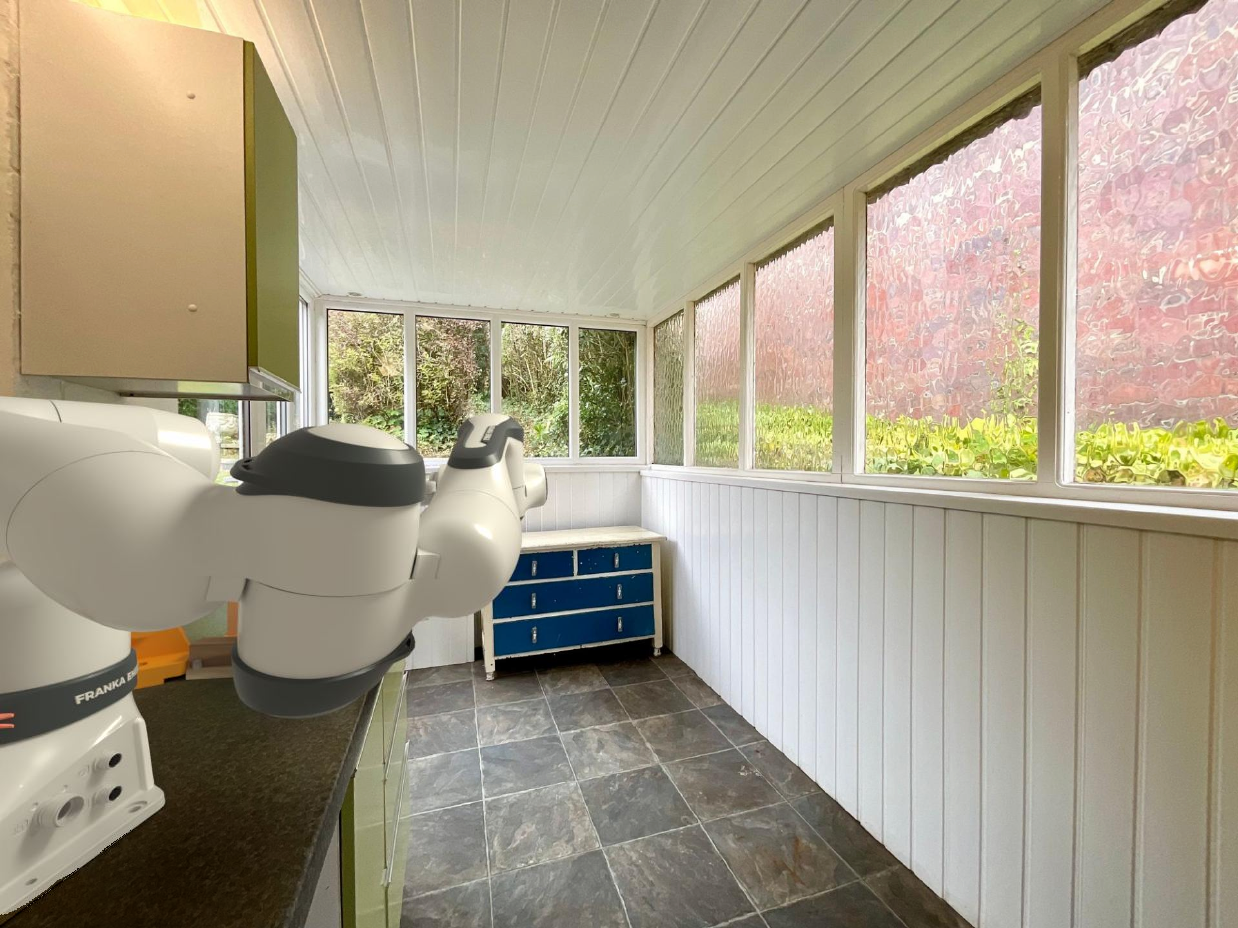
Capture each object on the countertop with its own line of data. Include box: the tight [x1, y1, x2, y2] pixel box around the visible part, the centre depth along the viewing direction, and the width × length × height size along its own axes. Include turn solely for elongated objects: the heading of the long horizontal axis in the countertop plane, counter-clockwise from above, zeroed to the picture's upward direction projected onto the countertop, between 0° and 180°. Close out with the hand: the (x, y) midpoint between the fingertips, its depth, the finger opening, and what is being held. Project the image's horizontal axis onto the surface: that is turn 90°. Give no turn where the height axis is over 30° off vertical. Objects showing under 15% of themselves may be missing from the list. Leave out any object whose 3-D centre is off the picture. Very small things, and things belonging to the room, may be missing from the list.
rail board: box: [185, 636, 237, 681], centre depth 86 cm, size 27×9×5 cm, turn 9°
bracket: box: [131, 626, 192, 691], centre depth 72 cm, size 11×7×12 cm
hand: (368, 493), depth 82 cm, fingers open, 8 cm apart
